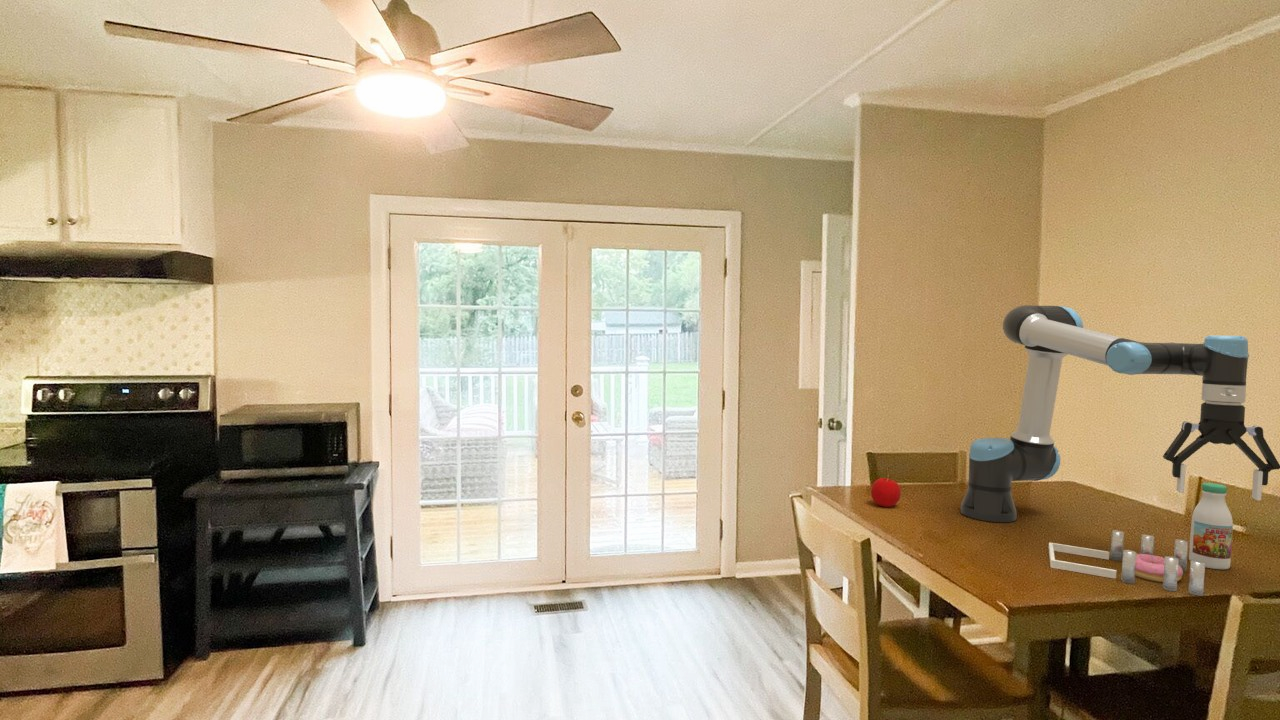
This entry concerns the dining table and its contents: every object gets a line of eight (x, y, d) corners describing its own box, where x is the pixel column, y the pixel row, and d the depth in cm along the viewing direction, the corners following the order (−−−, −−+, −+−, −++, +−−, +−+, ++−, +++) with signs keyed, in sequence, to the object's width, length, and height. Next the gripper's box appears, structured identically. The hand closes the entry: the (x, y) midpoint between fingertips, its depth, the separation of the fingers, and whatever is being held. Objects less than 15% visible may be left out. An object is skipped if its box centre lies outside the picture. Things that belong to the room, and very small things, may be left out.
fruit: (904, 509, 206) (906, 478, 205) (875, 509, 206) (877, 477, 205) (893, 501, 215) (895, 471, 215) (866, 501, 215) (867, 471, 215)
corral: (1050, 567, 157) (1051, 560, 157) (1048, 549, 171) (1048, 542, 171) (1116, 578, 151) (1116, 571, 151) (1108, 558, 164) (1109, 551, 164)
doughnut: (1113, 570, 157) (1114, 553, 156) (1141, 565, 161) (1142, 548, 161) (1164, 588, 147) (1165, 569, 146) (1193, 581, 151) (1194, 563, 151)
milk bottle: (1180, 559, 165) (1185, 480, 164) (1208, 559, 166) (1213, 480, 165) (1209, 570, 158) (1215, 488, 156) (1239, 570, 158) (1244, 488, 157)
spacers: (1119, 581, 149) (1121, 551, 149) (1109, 556, 166) (1111, 529, 165) (1204, 596, 142) (1206, 564, 141) (1185, 568, 158) (1187, 540, 158)
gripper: (1159, 401, 151) (1154, 492, 152) (1304, 408, 141) (1298, 506, 141) (1150, 398, 158) (1146, 485, 159) (1288, 405, 147) (1282, 498, 148)
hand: (1217, 495), depth 150 cm, fingers open, 13 cm apart
